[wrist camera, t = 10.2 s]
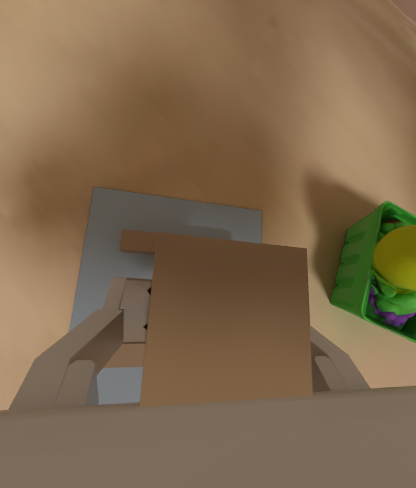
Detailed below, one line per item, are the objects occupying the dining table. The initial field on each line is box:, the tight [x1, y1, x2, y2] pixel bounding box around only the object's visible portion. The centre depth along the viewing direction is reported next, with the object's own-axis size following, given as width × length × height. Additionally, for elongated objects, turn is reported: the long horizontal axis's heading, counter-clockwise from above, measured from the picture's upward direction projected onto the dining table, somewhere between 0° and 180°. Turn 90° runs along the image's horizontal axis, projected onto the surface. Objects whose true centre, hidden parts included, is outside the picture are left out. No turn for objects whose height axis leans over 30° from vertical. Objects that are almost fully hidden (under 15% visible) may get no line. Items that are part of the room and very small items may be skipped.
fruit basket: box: [330, 201, 416, 343], centre depth 19 cm, size 11×9×11 cm
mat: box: [69, 187, 262, 405], centre depth 19 cm, size 18×16×2 cm
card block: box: [139, 232, 313, 407], centre depth 10 cm, size 4×4×10 cm
